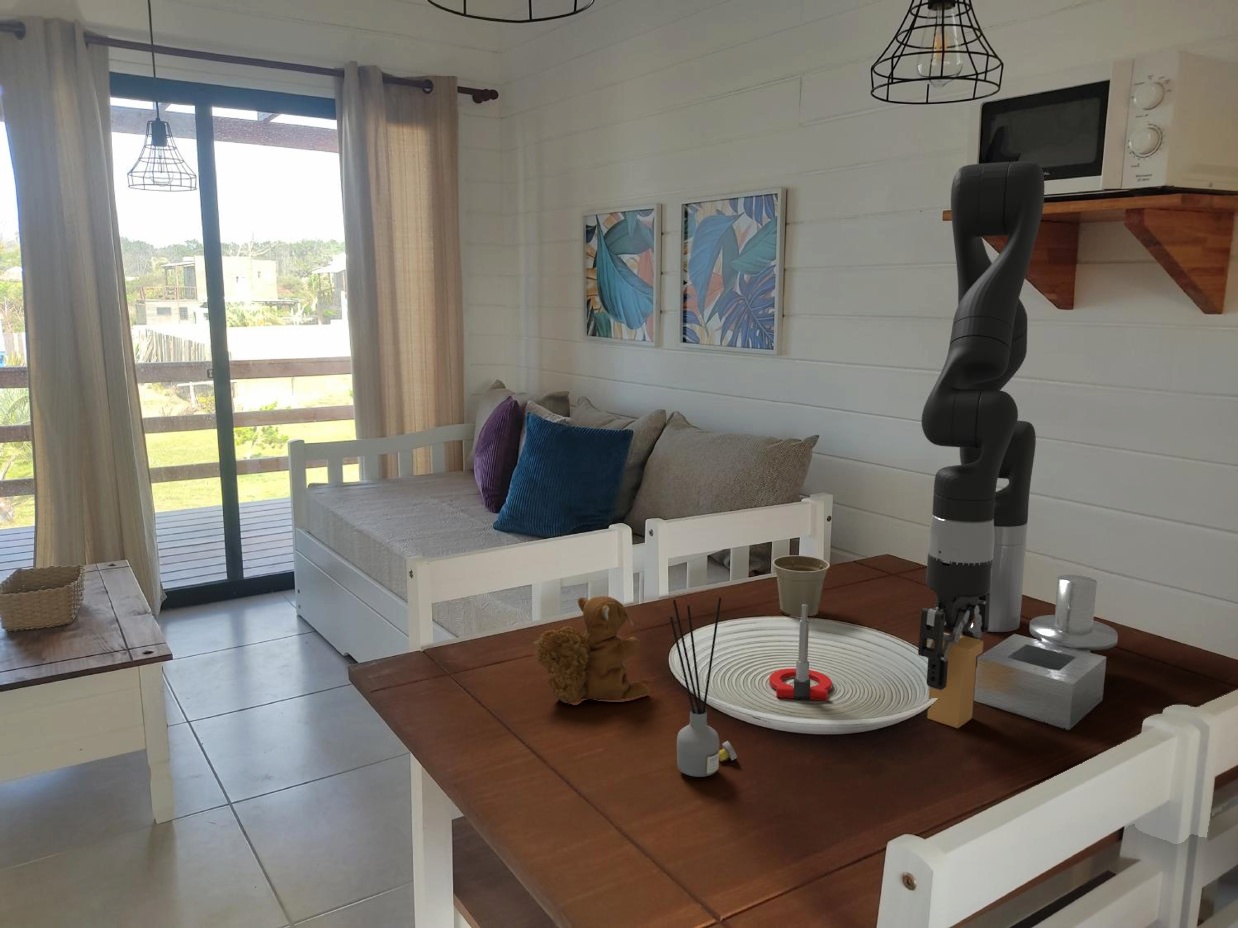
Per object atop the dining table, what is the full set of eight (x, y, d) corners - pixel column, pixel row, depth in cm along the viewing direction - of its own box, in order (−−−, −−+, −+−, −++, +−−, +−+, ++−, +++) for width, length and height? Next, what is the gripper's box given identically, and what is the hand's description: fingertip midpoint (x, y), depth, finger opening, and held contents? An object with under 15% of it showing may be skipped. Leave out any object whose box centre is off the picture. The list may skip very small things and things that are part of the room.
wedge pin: (921, 716, 118) (926, 637, 116) (936, 706, 121) (941, 629, 119) (963, 730, 114) (969, 649, 112) (977, 719, 117) (983, 640, 115)
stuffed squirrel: (655, 696, 124) (655, 602, 122) (561, 721, 117) (559, 622, 115) (616, 671, 133) (616, 582, 130) (527, 693, 126) (524, 599, 123)
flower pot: (833, 622, 152) (835, 571, 150) (775, 622, 152) (776, 571, 150) (821, 603, 161) (823, 555, 159) (767, 603, 161) (768, 555, 160)
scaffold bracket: (973, 700, 122) (980, 598, 120) (1040, 653, 138) (1047, 562, 136) (1069, 730, 114) (1078, 621, 112) (1128, 676, 130) (1137, 580, 127)
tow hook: (768, 674, 132) (769, 699, 123) (771, 586, 131) (772, 604, 122) (829, 678, 131) (834, 703, 122) (833, 589, 129) (838, 608, 120)
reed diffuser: (687, 795, 100) (689, 618, 96) (642, 772, 105) (642, 602, 101) (747, 762, 107) (751, 596, 103) (701, 742, 112) (703, 582, 108)
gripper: (956, 536, 121) (949, 654, 124) (903, 557, 111) (896, 685, 114) (1014, 547, 116) (1005, 670, 119) (964, 570, 106) (955, 703, 109)
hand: (951, 677), depth 116 cm, fingers open, 8 cm apart
